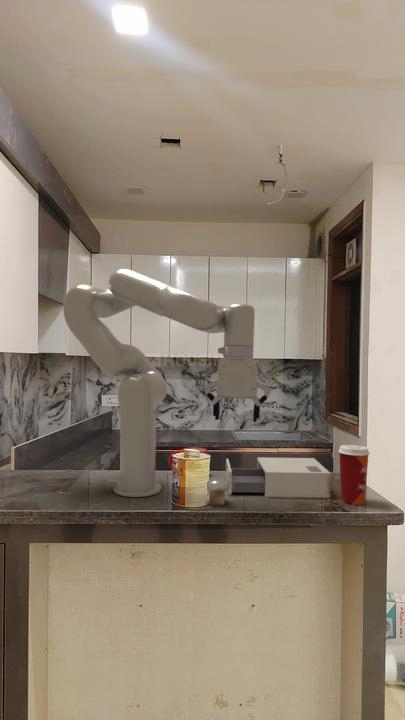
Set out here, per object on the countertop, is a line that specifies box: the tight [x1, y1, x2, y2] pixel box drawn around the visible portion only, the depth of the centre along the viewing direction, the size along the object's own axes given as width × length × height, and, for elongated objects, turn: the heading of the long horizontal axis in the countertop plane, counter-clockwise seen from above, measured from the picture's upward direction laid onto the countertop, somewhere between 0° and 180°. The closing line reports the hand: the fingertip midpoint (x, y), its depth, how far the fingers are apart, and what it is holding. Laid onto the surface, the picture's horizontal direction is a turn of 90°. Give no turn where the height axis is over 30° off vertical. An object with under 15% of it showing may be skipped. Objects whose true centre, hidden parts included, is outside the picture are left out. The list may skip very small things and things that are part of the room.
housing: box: [256, 456, 331, 499], centre depth 132 cm, size 17×18×7 cm
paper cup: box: [337, 444, 371, 506], centre depth 120 cm, size 8×8×14 cm
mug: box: [168, 446, 208, 470], centre depth 145 cm, size 8×12×8 cm, turn 85°
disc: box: [206, 476, 229, 492], centre depth 118 cm, size 6×6×2 cm
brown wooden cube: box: [208, 491, 225, 506], centre depth 118 cm, size 4×4×4 cm
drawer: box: [224, 458, 265, 496], centre depth 132 cm, size 17×16×6 cm
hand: (236, 420), depth 120 cm, fingers open, 9 cm apart
